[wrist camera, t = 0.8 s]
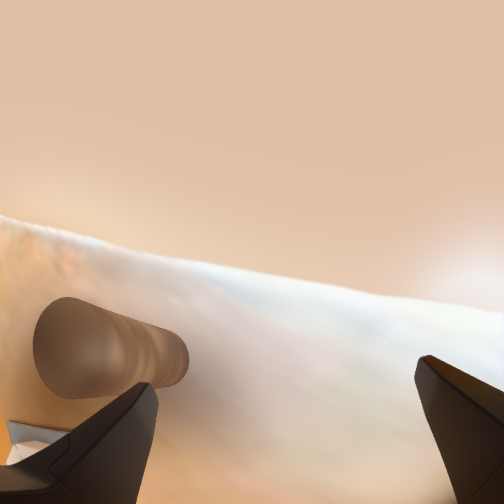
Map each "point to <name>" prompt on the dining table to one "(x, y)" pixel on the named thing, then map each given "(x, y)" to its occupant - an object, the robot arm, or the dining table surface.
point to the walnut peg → (103, 351)
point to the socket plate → (29, 440)
